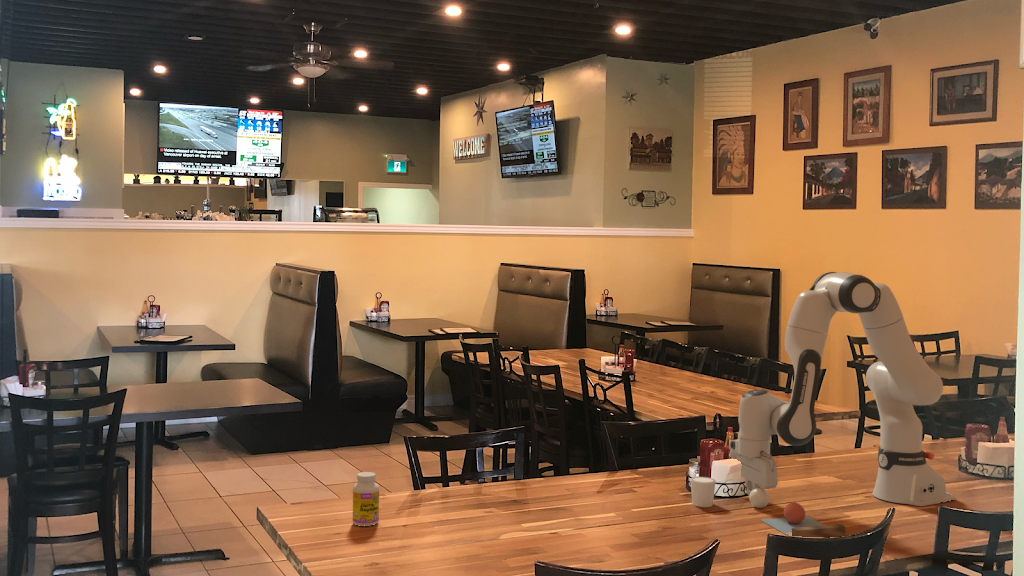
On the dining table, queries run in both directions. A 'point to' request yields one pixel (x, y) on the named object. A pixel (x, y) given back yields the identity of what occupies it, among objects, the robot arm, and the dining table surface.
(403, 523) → the dining table surface
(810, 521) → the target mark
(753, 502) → the cue ball
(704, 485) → the white cup
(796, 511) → the red ball
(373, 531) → the dining table surface
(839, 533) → the strip
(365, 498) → the supplement bottle
